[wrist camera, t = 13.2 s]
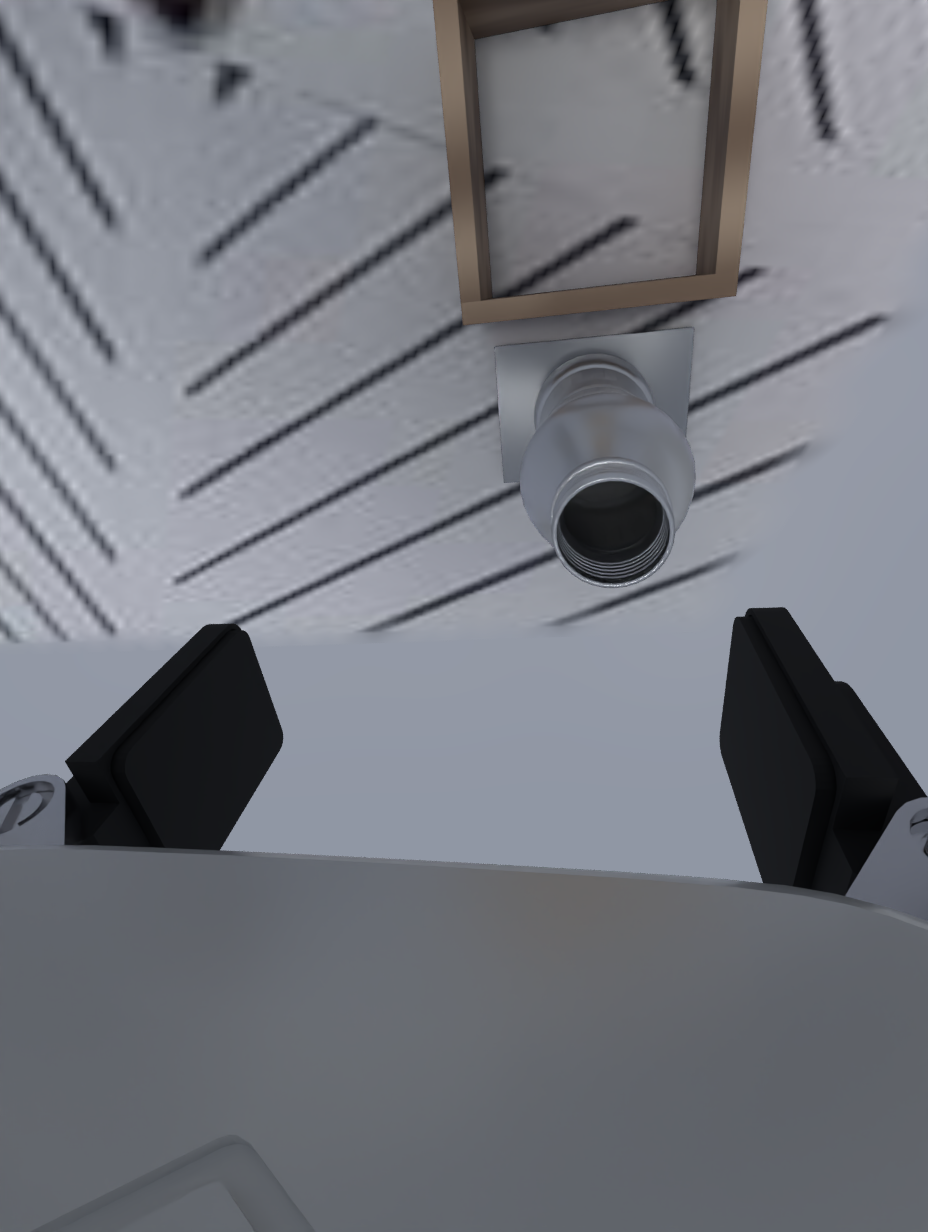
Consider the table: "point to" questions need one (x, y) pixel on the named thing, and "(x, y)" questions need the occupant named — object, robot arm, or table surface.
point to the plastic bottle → (606, 472)
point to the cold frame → (504, 3)
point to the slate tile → (532, 363)
